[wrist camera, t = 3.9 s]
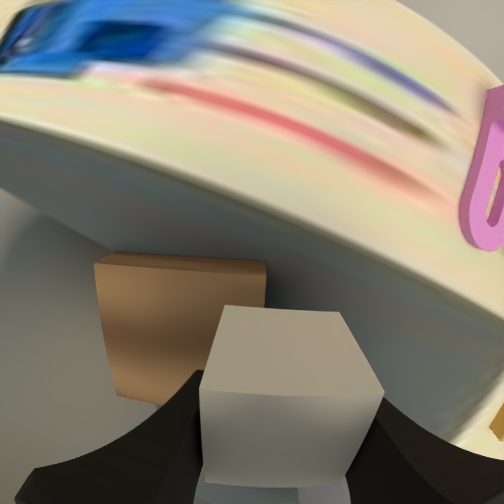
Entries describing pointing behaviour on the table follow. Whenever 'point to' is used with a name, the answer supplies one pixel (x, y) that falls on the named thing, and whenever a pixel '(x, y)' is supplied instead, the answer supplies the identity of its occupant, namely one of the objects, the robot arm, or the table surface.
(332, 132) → the table surface
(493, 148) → the bracket
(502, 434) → the rubber stamp
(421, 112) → the table surface
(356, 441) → the grey cube
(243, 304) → the walnut block
